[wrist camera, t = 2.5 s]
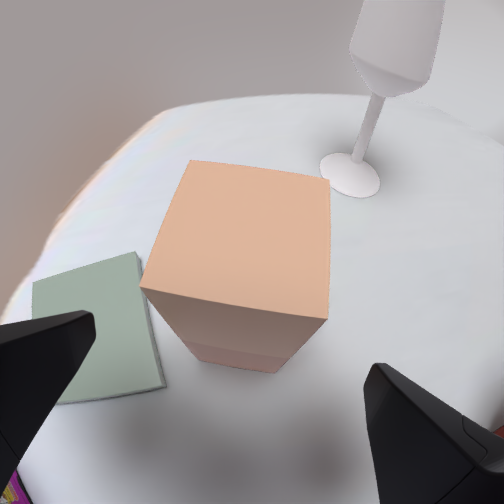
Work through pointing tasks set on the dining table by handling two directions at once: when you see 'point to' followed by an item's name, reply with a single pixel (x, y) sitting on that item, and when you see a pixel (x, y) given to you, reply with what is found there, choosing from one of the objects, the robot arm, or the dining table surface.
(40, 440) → the dining table surface
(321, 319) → the peach rectangular block
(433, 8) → the champagne flute
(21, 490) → the candy bar box
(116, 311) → the base plate
